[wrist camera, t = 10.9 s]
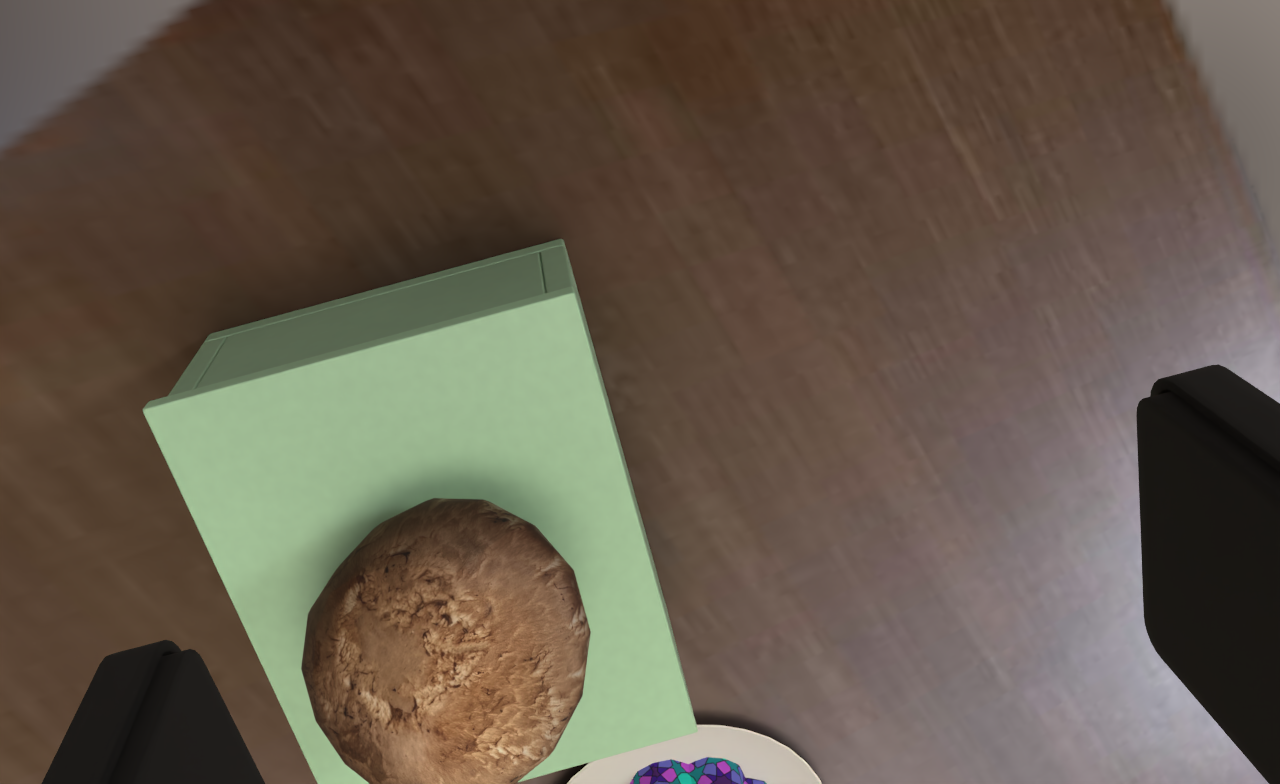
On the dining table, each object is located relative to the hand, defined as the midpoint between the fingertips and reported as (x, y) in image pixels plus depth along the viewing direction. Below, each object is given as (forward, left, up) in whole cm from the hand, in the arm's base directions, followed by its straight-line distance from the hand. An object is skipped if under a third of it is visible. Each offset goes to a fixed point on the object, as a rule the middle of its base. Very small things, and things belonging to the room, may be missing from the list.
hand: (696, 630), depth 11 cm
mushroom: (+10, -6, -19) cm, 23 cm away
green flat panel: (+10, -6, -20) cm, 23 cm away
